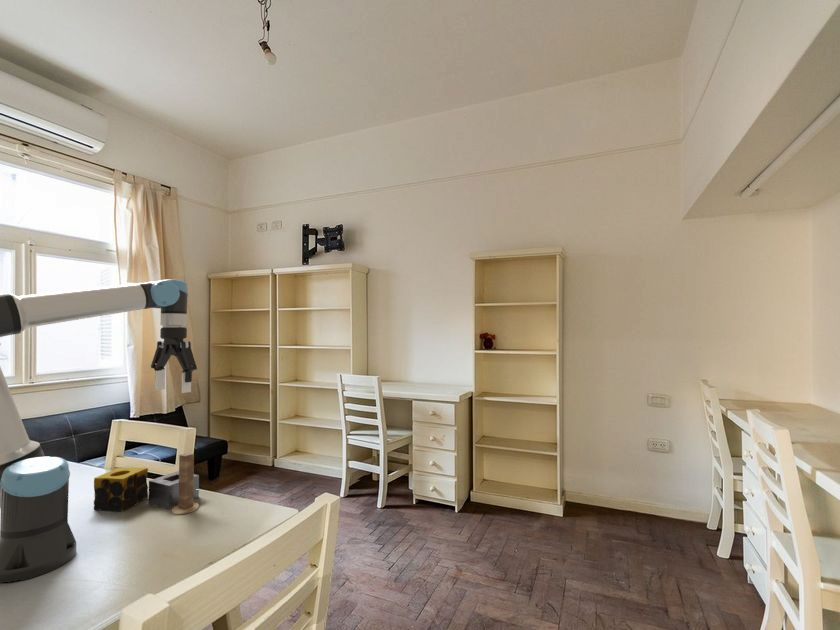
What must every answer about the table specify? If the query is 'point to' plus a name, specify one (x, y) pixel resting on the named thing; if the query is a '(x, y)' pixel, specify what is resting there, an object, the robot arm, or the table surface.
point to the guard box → (168, 490)
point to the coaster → (181, 511)
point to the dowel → (186, 480)
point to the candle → (120, 489)
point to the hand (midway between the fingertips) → (172, 391)
